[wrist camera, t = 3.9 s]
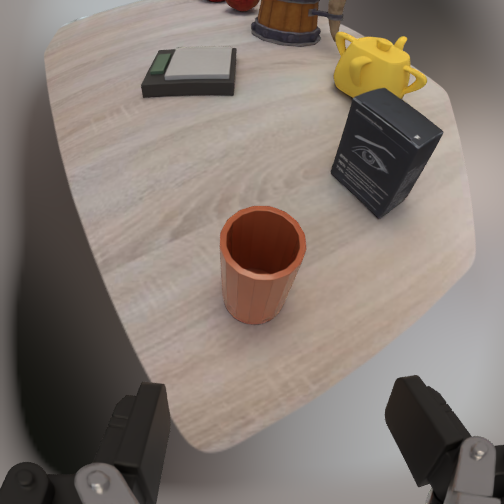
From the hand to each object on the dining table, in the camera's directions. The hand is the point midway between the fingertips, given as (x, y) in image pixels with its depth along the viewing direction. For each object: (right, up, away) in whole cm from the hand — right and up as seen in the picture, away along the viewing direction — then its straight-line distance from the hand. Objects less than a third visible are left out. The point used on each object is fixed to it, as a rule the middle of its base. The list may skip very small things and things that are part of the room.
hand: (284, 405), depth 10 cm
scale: (-10, +32, +34) cm, 48 cm away
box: (+12, +12, +25) cm, 30 cm away
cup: (-1, +1, +17) cm, 18 cm away
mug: (+8, +48, +44) cm, 66 cm away
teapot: (+18, +31, +35) cm, 50 cm away
